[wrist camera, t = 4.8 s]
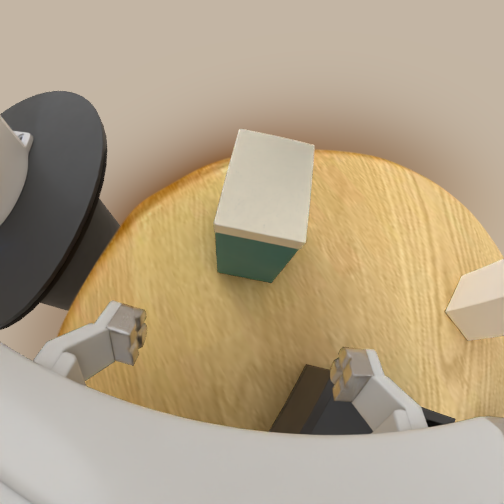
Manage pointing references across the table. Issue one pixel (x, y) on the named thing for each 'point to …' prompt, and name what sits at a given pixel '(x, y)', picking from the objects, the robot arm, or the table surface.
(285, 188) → the carton
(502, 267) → the milk
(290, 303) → the table surface
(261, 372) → the table surface
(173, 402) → the table surface
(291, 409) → the basket
